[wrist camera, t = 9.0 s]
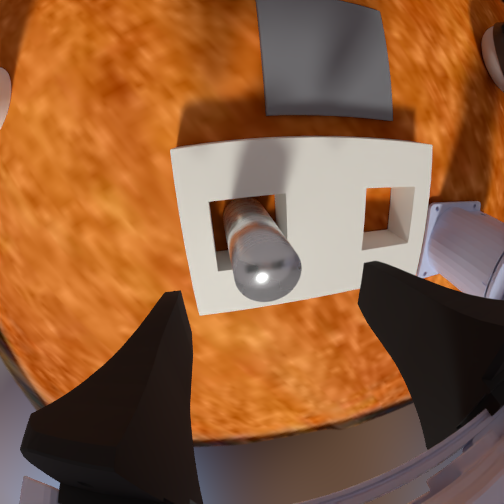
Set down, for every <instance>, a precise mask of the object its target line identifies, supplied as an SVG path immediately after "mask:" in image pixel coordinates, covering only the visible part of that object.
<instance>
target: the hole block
mask: <svg viewBox="0 0 504 504" xmlns="http://www.w3.org/2000/svg"><path fill="white" fill-rule="evenodd" d="M170 152H171V160H172V168H173V176H174V183H175V190H176V196H177V203H178V209H179V215H180V221H181V227H182V233H183V238H184V244H185V249H186V254H187V259H188V264H189V269H190V274H191V279H192V284H193V289H194V293H195V298H196V302H197V307H198V311H199V315H208V314H215V313H223V312H230V311H237V310H244V309H251V308H257V307H263V306H270V305H276V304H282V303H287V302H293V301H299V300H304V299H310V298H315V297H320V296H325V295H330V294H335V293H340V292H345V291H350V290H354V289H359V288H360V286H361V280H362V273H363V265H364V263H366V262H371V261H379V262H383V263H386V264H388V265H391V266H394V267H396V268H399V269H401V270H403V271H406V272H408V273H411V274H413V275H416V272H417V268H418V263H419V258H420V254H421V248H422V243H423V237H424V231H425V225H426V218H427V211H428V203H429V194H430V183H431V168H432V145H429V144H424V143H418V142H412V141H405V140H395V139H384V138H370V137H350V136H286V137H265V138H250V139H238V140H228V141H218V142H210V143H202V144H194V145H187V146H181V147H176V148H173V149H171V150H170ZM380 187H391V199H390V211H389V221H388V229H386V230H378V231H370V232H363V231H364V218H365V203H366V188H380ZM273 194H275V212H276V225H277V226H278V228H279V229H280V230H281V232H282V233H283V235H284V236H285V237H286V239H287V240H288V242H289V243H290V244H291V246H292V247H293V249H294V250H295V252H296V253H297V254H298V256H299V258H300V261H301V266H302V270H301V276H300V279H299V281H298V283H297V285H296V286H295V287H294V289H293V290H292V291H291V292H290V293H288V294H287V295H286V296H284V297H282V298H280V299H278V300H275V301H270V302H258V301H253V300H251V299H249V298H247V297H245V296H244V295H243V294H242V293H241V292H240V291H239V290H238V288H237V286H236V284H235V280H234V275H233V270H232V265H231V260H230V255H229V250H224V251H217V252H216V247H215V240H214V233H213V225H212V217H211V210H210V202H211V201H219V200H227V199H236V198H244V197H253V196H263V195H273Z"/></svg>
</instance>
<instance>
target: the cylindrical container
mask: <svg viewBox="0 0 504 504" xmlns="http://www.w3.org/2000/svg"><path fill="white" fill-rule="evenodd" d="M10 100H11V80H10V76H9V74H8V72H7V71H6V70H5V69H4V68H2V67H0V129H1V127H2V125H3V123H4V120H5V118H6V115H7V112H8V109H9V104H10Z"/></svg>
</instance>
